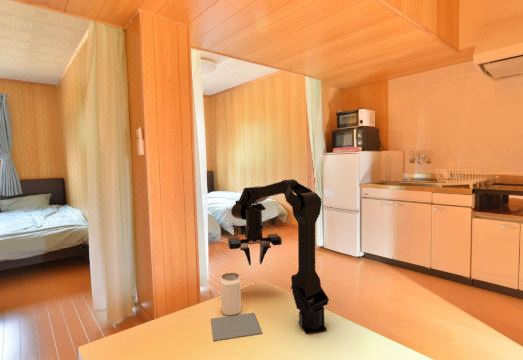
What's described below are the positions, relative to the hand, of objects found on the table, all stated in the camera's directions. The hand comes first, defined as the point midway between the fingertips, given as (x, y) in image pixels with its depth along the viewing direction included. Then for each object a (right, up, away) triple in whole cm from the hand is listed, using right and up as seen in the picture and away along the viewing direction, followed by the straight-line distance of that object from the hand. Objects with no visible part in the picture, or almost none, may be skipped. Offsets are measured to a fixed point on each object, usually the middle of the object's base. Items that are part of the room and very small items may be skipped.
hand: (255, 264), depth 111 cm
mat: (-6, -14, -18) cm, 23 cm away
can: (-8, -13, -9) cm, 18 cm away
